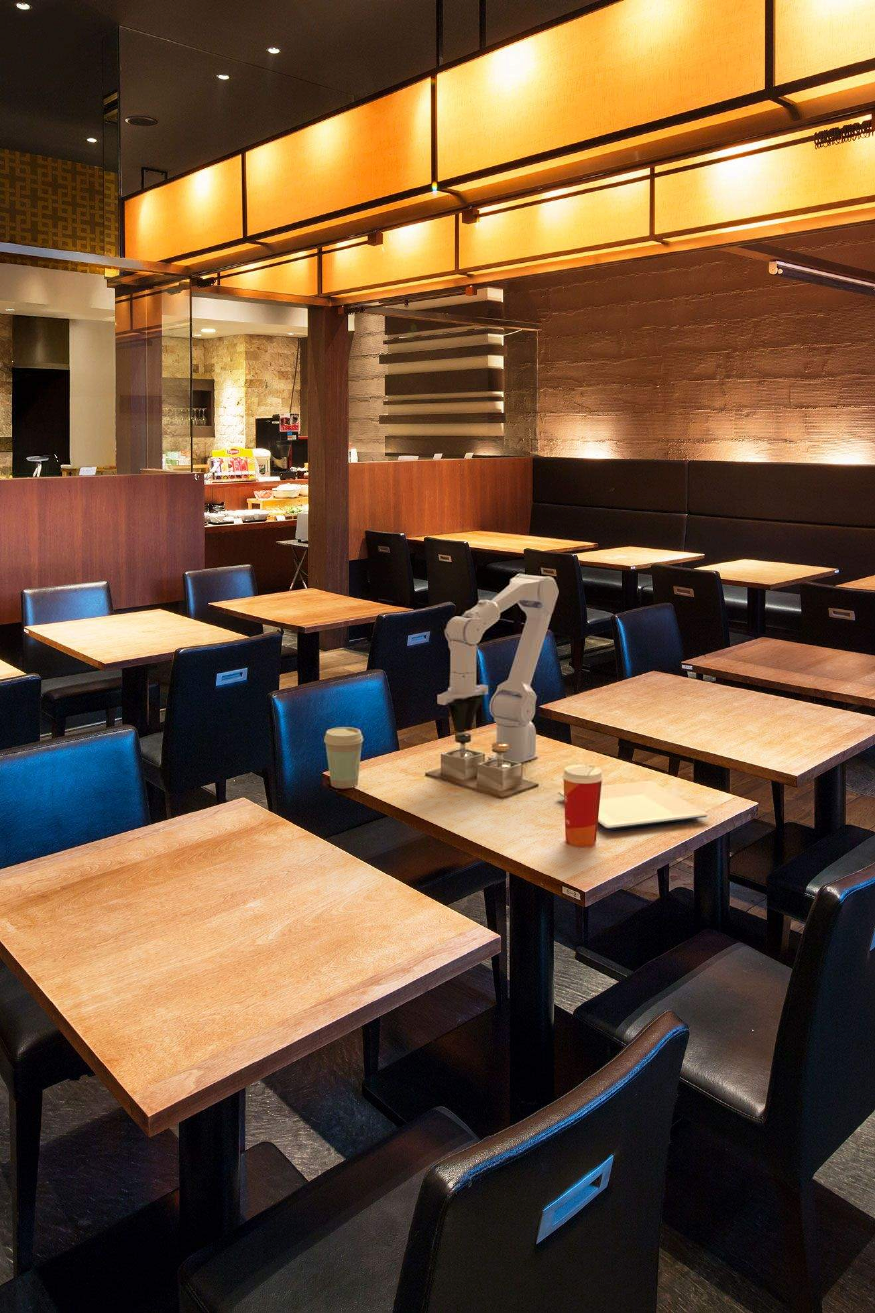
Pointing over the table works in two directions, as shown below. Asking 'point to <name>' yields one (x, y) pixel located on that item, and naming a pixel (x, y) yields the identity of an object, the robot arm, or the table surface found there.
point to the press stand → (482, 774)
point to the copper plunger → (500, 755)
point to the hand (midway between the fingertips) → (462, 730)
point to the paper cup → (581, 804)
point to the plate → (641, 805)
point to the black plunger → (462, 745)
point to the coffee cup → (343, 756)
